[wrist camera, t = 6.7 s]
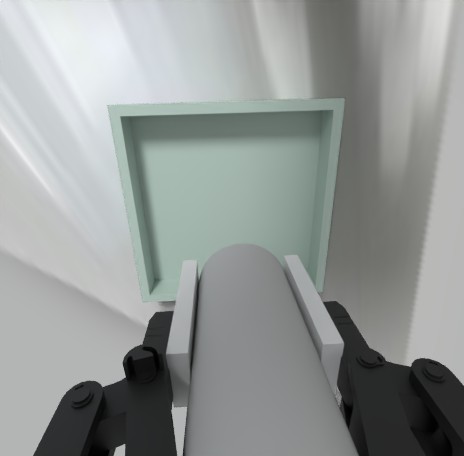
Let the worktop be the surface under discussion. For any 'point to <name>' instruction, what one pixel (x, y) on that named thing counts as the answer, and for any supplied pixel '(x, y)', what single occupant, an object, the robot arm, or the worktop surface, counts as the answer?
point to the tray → (226, 182)
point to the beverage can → (257, 366)
